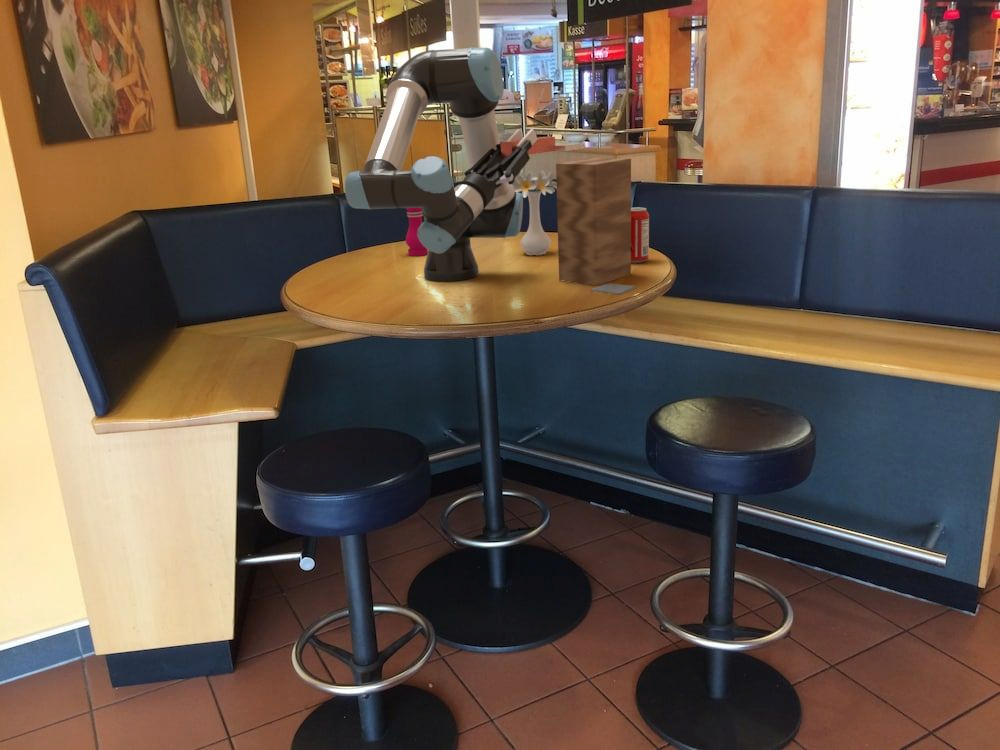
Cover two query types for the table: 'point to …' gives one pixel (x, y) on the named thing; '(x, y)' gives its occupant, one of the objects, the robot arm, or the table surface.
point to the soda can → (639, 235)
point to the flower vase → (535, 209)
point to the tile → (613, 288)
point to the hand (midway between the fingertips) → (527, 134)
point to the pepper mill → (414, 233)
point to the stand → (594, 219)
